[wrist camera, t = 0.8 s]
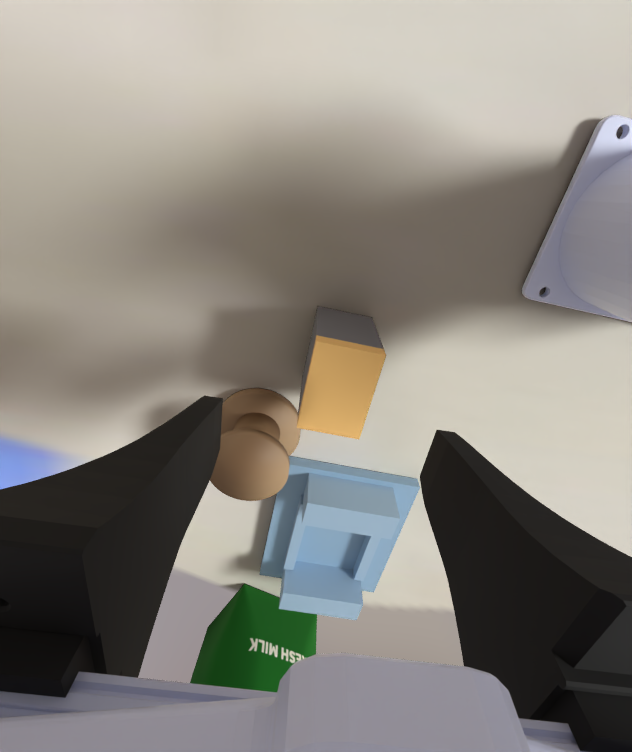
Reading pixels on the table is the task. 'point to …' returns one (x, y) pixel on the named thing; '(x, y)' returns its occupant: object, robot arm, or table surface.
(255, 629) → the soya milk
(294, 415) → the bobbin
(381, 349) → the orange and grey block
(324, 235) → the table surface
